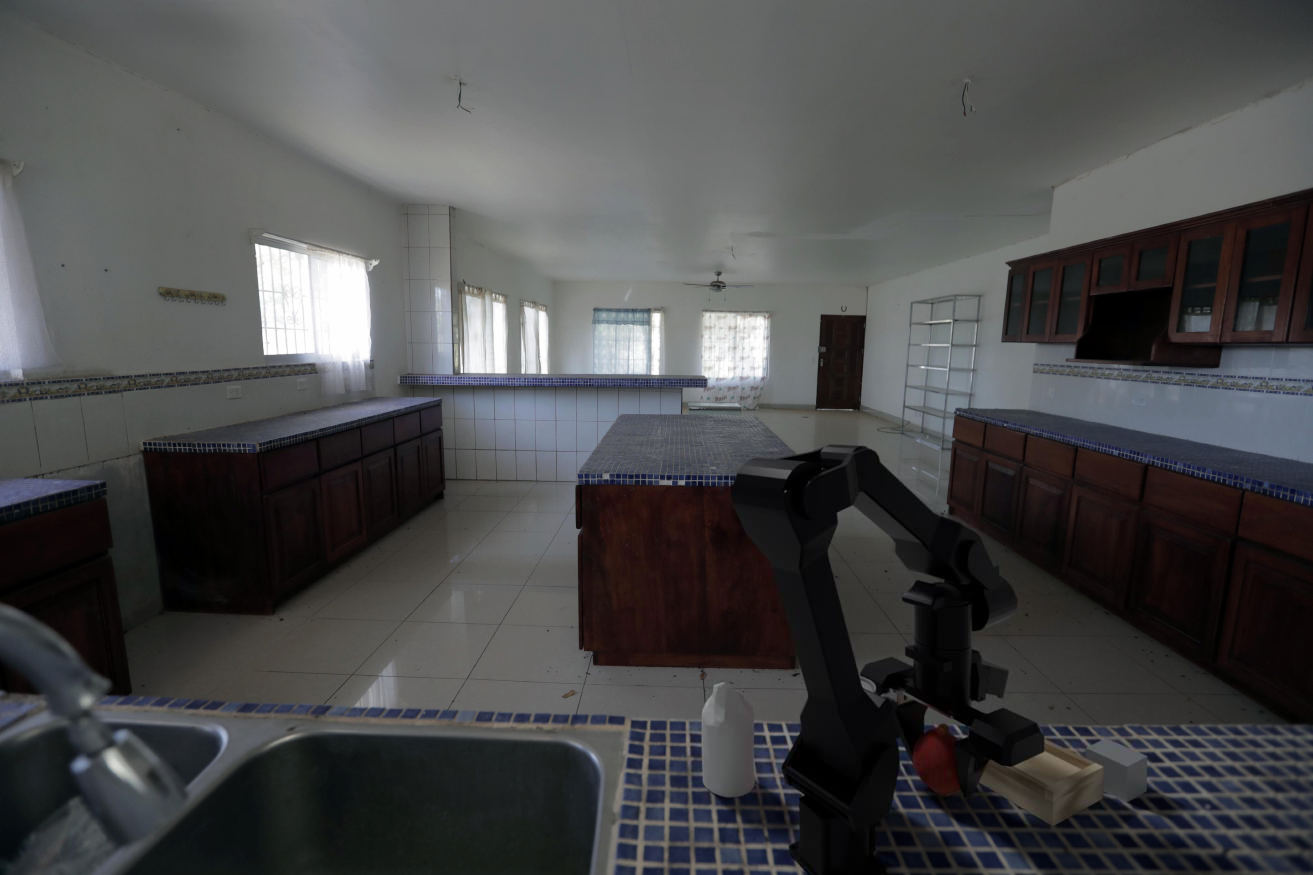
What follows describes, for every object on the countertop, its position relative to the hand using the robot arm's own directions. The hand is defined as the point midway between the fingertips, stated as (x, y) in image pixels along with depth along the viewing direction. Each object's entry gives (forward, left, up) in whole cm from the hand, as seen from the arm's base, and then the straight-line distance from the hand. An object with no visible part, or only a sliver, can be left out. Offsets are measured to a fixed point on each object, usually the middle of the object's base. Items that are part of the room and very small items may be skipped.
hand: (941, 780), depth 65 cm
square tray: (+10, -4, -2) cm, 11 cm away
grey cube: (+18, -8, -2) cm, 20 cm away
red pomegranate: (0, 0, -2) cm, 2 cm away
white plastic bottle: (-19, +13, -2) cm, 23 cm away
